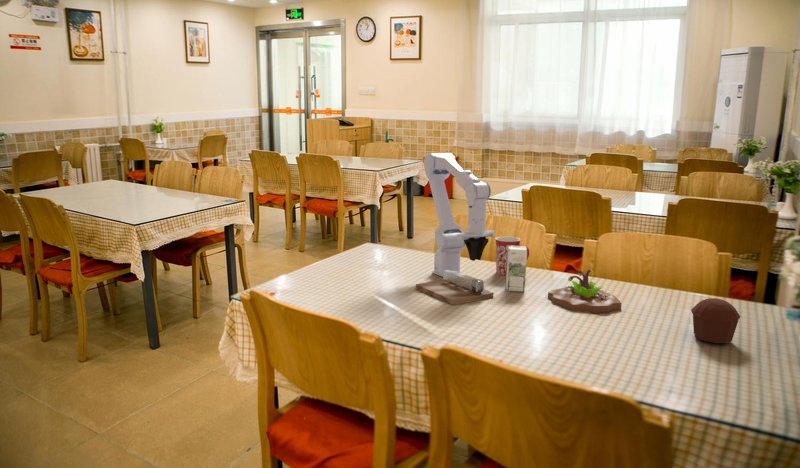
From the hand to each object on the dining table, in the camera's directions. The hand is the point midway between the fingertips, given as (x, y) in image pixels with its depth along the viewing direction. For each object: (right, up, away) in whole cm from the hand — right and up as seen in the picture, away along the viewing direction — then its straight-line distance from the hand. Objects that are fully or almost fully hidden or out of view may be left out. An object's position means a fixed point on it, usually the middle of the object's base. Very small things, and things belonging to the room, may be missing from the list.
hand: (475, 259), depth 193 cm
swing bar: (-5, -8, -5) cm, 10 cm away
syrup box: (+13, -10, 0) cm, 17 cm away
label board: (-8, -10, -5) cm, 14 cm away
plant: (+32, -13, -13) cm, 37 cm away
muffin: (+57, -19, -41) cm, 72 cm away
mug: (+15, -7, +17) cm, 24 cm away
